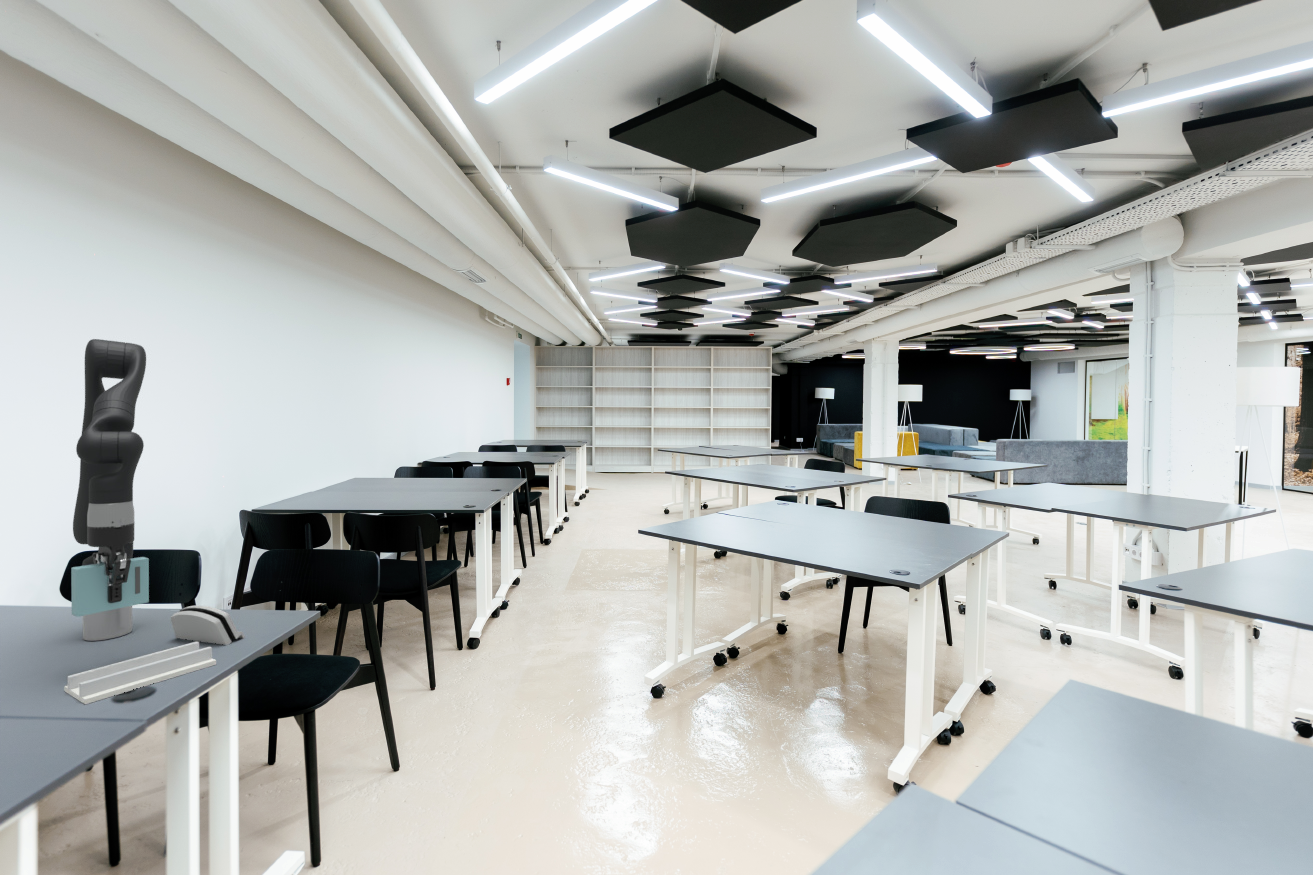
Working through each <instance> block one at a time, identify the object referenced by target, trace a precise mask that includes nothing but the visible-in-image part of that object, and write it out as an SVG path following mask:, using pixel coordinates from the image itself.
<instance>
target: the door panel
mask: <svg viewBox="0 0 1313 875" xmlns="http://www.w3.org/2000/svg"><path fill="white" fill-rule="evenodd" d="M130 560H131V564H130V569H129V574H128V579H127V582H126V583H123V584H122V600H121V601H120V602H115V603H109V602H108V587H107V586H108V585H107V576H105V575H104V565H103V563H102V564H92V565H85V566H82V565H80V566H79V565H78V566H73V567H71V572H70V573H71V574H70V575H71V579H70V580H71V584H70V585H71V616H72V615H73V616H74V617H76V618H79V617H83V616H84V615H89V614H94V613H99V612H103V611H108V610H113V609H118V608H123V607H128V606H132V607H133V606H138V605H142V604H147V603H150V599H149V598H150V595H149V594H150V593H149V592H150V589H149V588H150V586H149V585H150V582H149V581H150V576H149V574H150V572H149V570H150V569H149V568H150V567H149V566H150V565H149V564H150V563H149V561H150V559H149V558H148V557H146V556H140V557H139V556H138V557H134V558H133V557H132V559H130ZM109 571H110V572H111V571H112V570H109ZM116 578H119V575H118V576H117V577H116Z"/></svg>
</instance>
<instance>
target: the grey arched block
mask: <svg viewBox="0 0 1313 875" xmlns="http://www.w3.org/2000/svg"><path fill="white" fill-rule="evenodd" d="M169 618H170V619H169V620H170V623H171V625H172V629H173V632H174V635H175V638H176V639H177V638H180V639H179V640H185V639H187V640H186V641H192V640H193V642H196V641H197V642H200V641H201V643H207V642H208V643H209V644H215V643H216V645H222V644H223V646H224V645H225V646H228V645H230V644H231V643H233V642H232V641H233V640H238V639H245V638H246V637H245V634H244V632H243V631H238V629H237V627H236V626H235V624H234V622H233V620H232V617H231V616H230V614H229V613H228V612H225V611H224V610H222V609H219V608H216V607H212V606H207V605H197V604H196V605H190V606H186V607H183V608H182V609H179V611H178V612H174V613H173V615H171V616H170V617H169Z"/></svg>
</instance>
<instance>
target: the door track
mask: <svg viewBox="0 0 1313 875" xmlns="http://www.w3.org/2000/svg"><path fill="white" fill-rule="evenodd" d="M215 665H217V660H216V659H215V658H213V647H211V646H207V647H203V648H200V641H193V642H190V643H186V644H181V645H179V646H175V647H171V648H167V649H164V650H159V651H155V652H152V653H148V654H145V655H140V656H137V657H133V658H130V659H125V660H123V661H119V662H115V663H112V664H108V665H103V666H101V667H97V668H92V669H90V670H85V671H82V672H79V673H73V674H71V675H67V685H64V689H63V690H64V692H65V693H67V694H68V695H69V696H71V697H73V698H74V699H75V700H77V701H79V702H80V703H82V704H84V705H88V704H92V703H94V702H97V701H102V700H104V699H108V698H111V697H115V696H117V695H120V694H124V692H125V693H127V692H130V691H134V690H137V689H136V688H138V689H140V687H141V688H144V687H147V686H151V685H154V684H157V683H160V682H163V681H166V680H170V679H173V678H177V677H179V676H183V675H187V674H189V673H190V674H191V673H192V672H196V671H199V670H202V669H207V668H209V667H212V666H215ZM153 683H154V684H153ZM150 684H151V685H150ZM143 686H144V687H143ZM133 689H134V690H133ZM114 695H115V696H114Z"/></svg>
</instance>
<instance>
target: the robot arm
mask: <svg viewBox="0 0 1313 875" xmlns="http://www.w3.org/2000/svg"><path fill="white" fill-rule="evenodd" d="M146 367H147V354H146V350H145V348H144V347H143V346H142V345H140V344H137V343H132V342H123V341H117V340H107V339H98V338H96V339H95V338H93V339H90V340H88V342H87V344H86V346H85V351H84V409H83V419H82V425H81V426H82V428H81V435H80V437H79V439H77V443H76V448H75V449H76V455H77V457H78V458H79V460H80V461H79V462H80V465H79V482H78V490H77V495H76V501H75V507H74V514H73V521H72V533H73V538H74V540H75V541H76V542H77V543H78V544H80V545H87V546H89V547H91V548H98V549H97V551H98V552H93V553H92V555H90V556H88V557H86V558H85V559H83V561H82V564H81V566H85V565H92V564H102V563H103V565H104V575H105V576H107V585H108V586H107V587H108V602H109V603H115V602H120V601H121V600H122V584H123V583H126V582H127V579H128V574H129V569H130V564H131V560H130V559H132V558H133V557H134V556H133V554H134V541H135V524H136V523H135V506H134V496H133V494H134V490H133V489H134V477H135V473H136V469H137V467H138V464H139V461H140V459H141V456H142V454H143V451H144V446H145V445H144V440H143V438H142V437H141V435H140V434H138V433H137V432H134V431H133V429H134V426H135V418H136V405H137V400H138V398H139V394H140V392H141V388H142V384H143V381H144V377H145V373H146ZM105 378H106V379H117V380H120V381H119V382H117V383H116V384H115V385H113V386H111V387H109V388H108V389H106V390H105V387H104V383H103V379H105ZM109 570H112V571H111V572H110V571H109ZM118 575H119V578H116V577H117V576H118ZM132 631H133V606H128V607H123V608H118V609H113V610H108V611H103V612H99V613H94V614H89V615H84V616H82V639H83V640H84V641H87V642H88V641H89V642H90V641H91V642H92V641H94V642H95V641H104V640H110V639H115V638H118V637H122V636H125V635H128V634H129V633H131V632H132Z"/></svg>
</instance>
